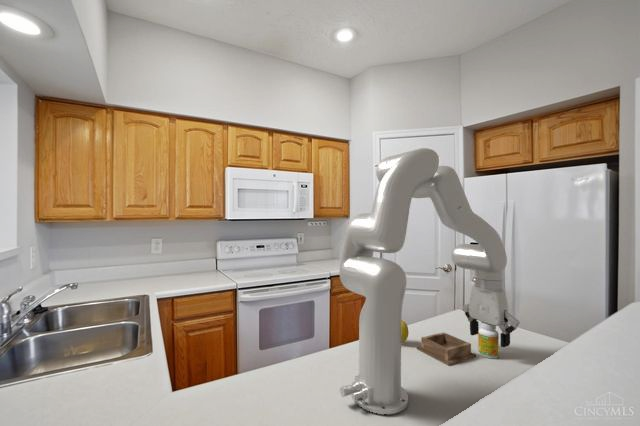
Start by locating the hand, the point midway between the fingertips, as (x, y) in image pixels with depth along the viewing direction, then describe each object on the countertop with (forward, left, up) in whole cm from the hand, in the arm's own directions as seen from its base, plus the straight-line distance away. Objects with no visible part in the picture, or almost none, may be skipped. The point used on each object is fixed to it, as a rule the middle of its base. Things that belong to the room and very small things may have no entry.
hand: (489, 340), depth 90 cm
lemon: (-19, +18, -5) cm, 27 cm away
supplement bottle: (0, 0, -5) cm, 5 cm away
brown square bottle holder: (-11, +6, -4) cm, 14 cm away
